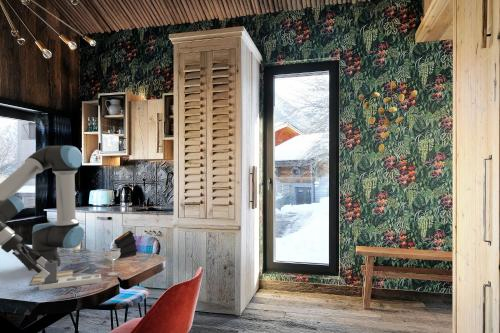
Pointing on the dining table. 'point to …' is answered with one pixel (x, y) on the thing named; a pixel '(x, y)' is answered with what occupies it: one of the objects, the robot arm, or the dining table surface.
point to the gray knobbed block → (51, 272)
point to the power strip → (71, 281)
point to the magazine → (126, 244)
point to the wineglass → (113, 257)
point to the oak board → (60, 274)
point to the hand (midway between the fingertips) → (48, 272)
